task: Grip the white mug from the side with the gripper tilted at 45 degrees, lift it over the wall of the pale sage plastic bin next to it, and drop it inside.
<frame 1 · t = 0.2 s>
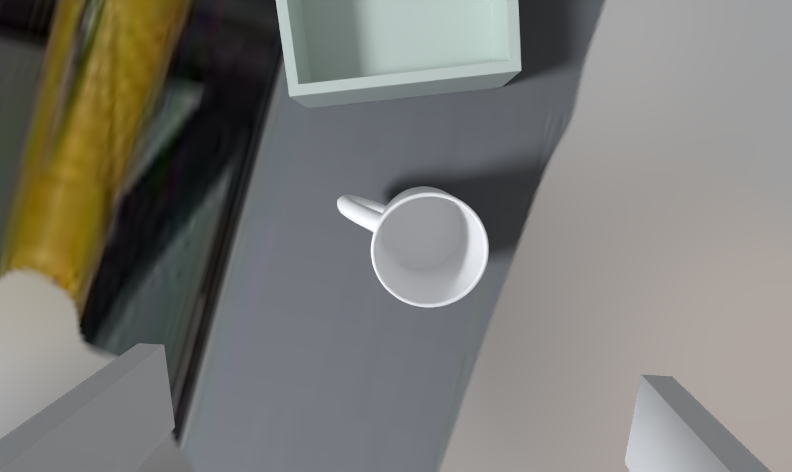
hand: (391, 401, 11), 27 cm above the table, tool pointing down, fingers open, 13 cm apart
mug: (405, 220, 37), on the table
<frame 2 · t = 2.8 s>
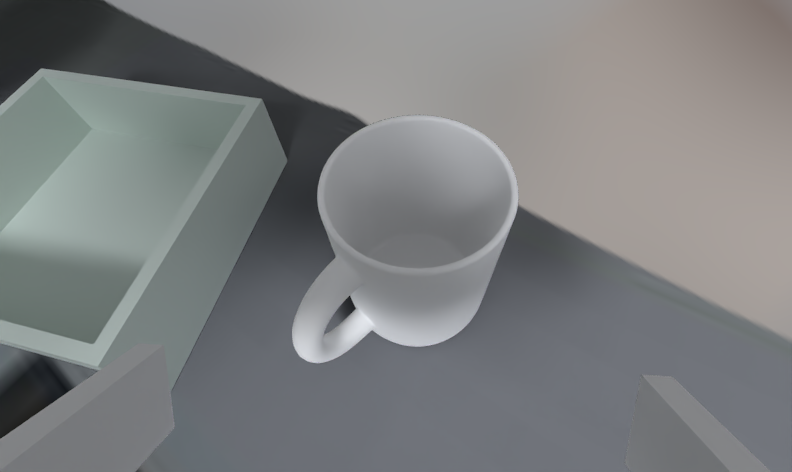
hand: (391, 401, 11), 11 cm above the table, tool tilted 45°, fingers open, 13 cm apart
bin: (127, 233, 28), on the table
mug: (395, 306, 24), on the table
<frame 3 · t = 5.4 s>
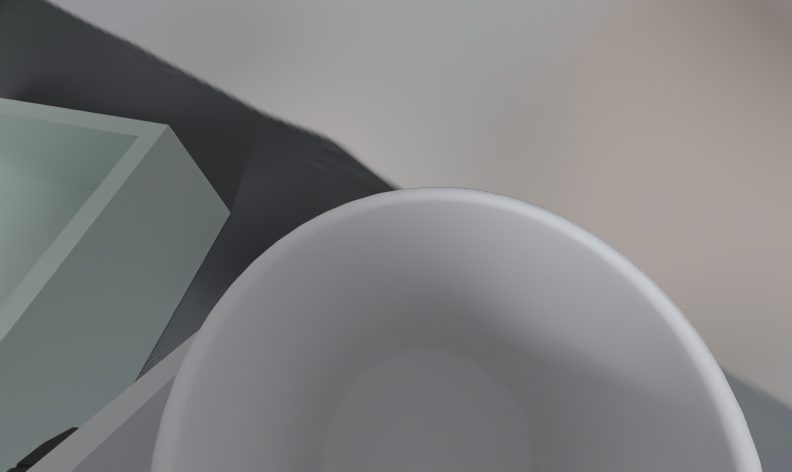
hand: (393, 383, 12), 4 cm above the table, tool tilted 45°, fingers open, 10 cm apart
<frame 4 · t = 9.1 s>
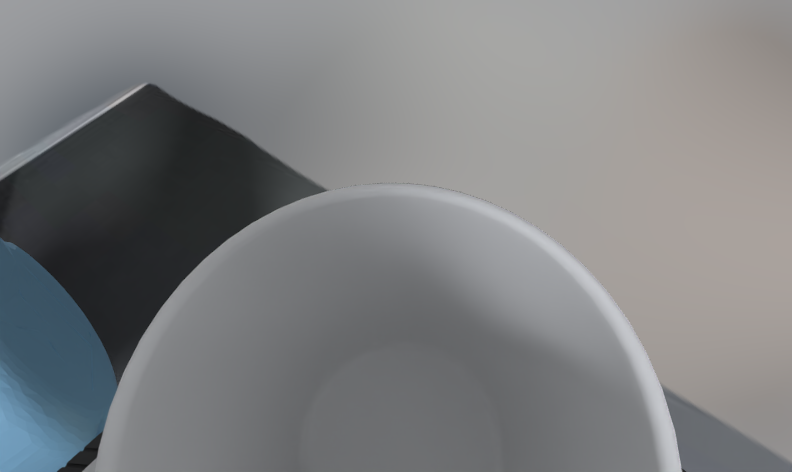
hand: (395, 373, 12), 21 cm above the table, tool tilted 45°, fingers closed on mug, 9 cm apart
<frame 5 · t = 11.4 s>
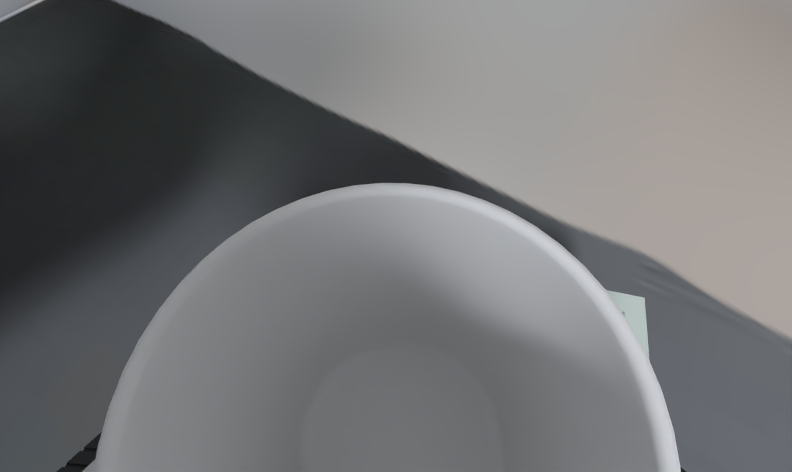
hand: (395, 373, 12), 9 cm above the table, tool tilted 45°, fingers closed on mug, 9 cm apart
when the fingers open (7 cm above the table, at t = 12.7 s): mug drops 2 cm, resting on bin.
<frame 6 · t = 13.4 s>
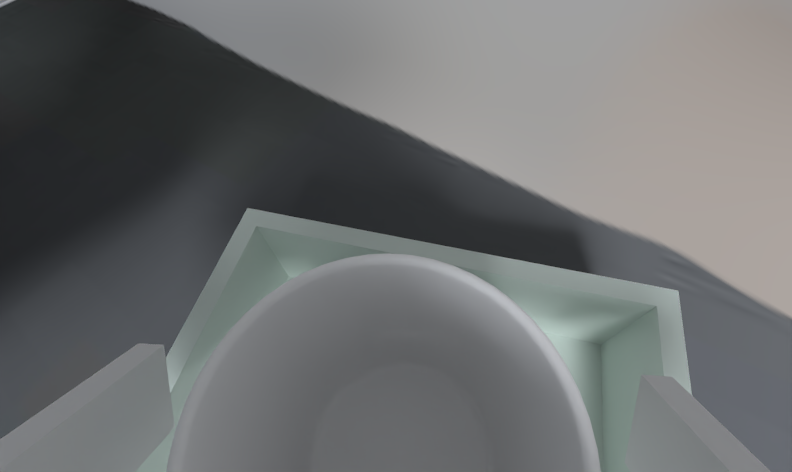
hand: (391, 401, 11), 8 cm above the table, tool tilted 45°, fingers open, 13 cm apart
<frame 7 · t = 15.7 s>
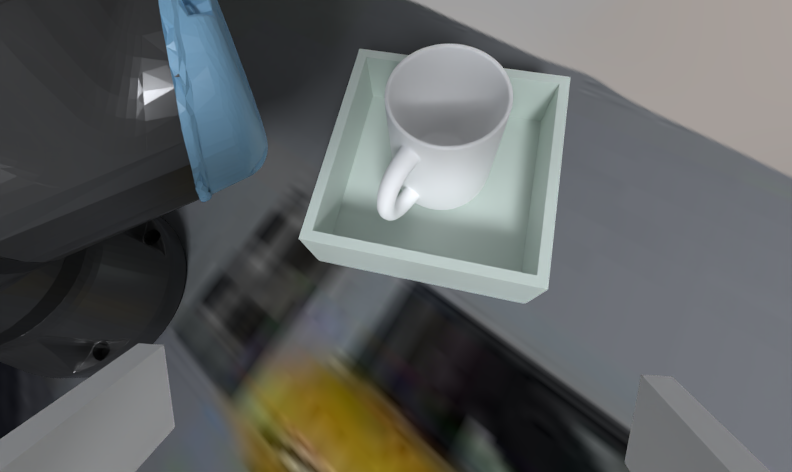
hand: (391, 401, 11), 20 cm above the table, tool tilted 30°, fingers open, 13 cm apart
bin: (438, 188, 35), on the table
mug: (427, 186, 34), point 1 cm above the table, touching bin
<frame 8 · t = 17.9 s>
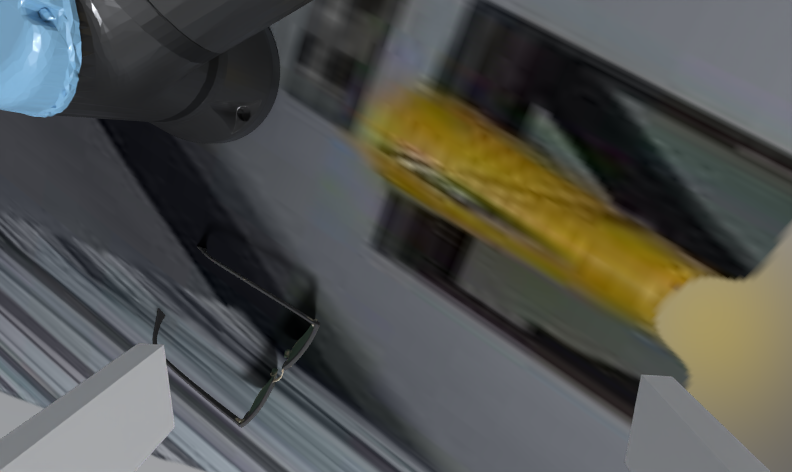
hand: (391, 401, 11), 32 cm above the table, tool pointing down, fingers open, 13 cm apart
sunglasses: (239, 317, 47), on the table
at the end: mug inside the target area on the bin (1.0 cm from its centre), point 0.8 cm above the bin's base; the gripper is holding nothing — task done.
